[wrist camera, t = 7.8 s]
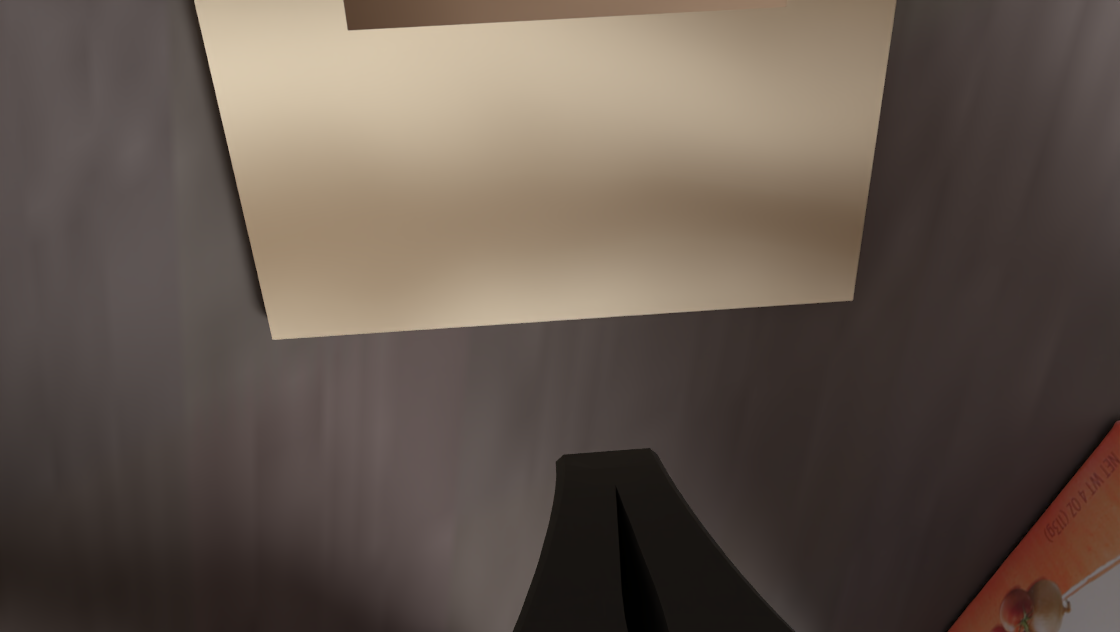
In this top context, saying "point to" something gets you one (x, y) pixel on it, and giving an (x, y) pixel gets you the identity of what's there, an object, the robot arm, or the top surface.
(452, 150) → the board
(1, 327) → the top surface
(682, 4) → the beige rectangular block
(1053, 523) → the cracker box
